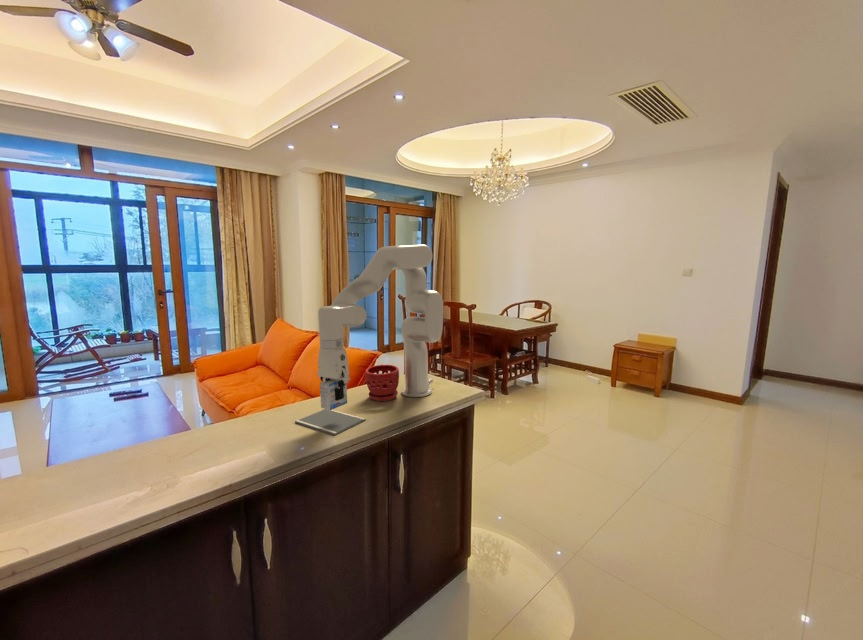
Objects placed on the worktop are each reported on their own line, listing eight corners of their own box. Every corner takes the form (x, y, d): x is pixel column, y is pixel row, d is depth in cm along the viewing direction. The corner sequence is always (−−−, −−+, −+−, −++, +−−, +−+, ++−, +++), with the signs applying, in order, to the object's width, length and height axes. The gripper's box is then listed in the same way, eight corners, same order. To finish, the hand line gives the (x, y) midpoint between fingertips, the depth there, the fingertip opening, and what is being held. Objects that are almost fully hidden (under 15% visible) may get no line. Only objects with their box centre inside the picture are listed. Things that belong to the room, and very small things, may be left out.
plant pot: (364, 394, 160) (363, 366, 158) (395, 391, 163) (394, 363, 162) (369, 405, 147) (367, 374, 146) (402, 401, 151) (402, 371, 149)
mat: (327, 409, 143) (327, 408, 143) (365, 420, 132) (365, 418, 132) (295, 422, 131) (295, 420, 131) (334, 435, 121) (334, 433, 121)
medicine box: (329, 410, 125) (328, 384, 124) (320, 408, 127) (319, 382, 126) (347, 403, 132) (346, 378, 130) (338, 401, 134) (337, 376, 133)
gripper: (358, 344, 125) (360, 399, 128) (322, 339, 134) (325, 390, 137) (341, 348, 119) (343, 406, 121) (305, 343, 128) (308, 396, 131)
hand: (334, 397), depth 129 cm, fingers closed on medicine box, 4 cm apart
